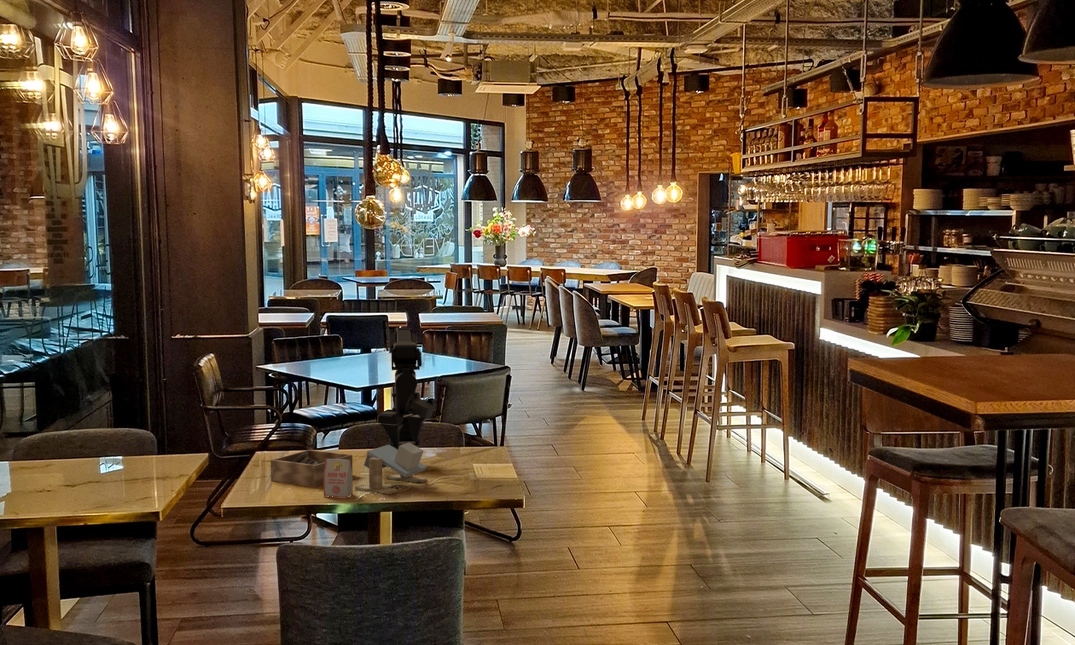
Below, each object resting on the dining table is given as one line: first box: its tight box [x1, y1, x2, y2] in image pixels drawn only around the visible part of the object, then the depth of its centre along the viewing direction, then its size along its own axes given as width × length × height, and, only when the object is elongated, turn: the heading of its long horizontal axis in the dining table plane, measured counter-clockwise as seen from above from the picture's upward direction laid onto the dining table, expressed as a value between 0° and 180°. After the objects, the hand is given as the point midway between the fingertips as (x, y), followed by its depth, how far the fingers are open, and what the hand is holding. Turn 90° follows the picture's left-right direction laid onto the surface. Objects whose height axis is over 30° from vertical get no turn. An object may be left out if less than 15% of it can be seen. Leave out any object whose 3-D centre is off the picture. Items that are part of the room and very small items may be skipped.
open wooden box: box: [270, 449, 354, 488], centre depth 272 cm, size 16×16×6 cm
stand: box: [354, 458, 428, 495], centre depth 262 cm, size 12×18×9 cm
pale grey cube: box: [394, 443, 424, 470], centre depth 260 cm, size 5×5×5 cm
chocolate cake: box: [292, 449, 318, 465], centre depth 273 cm, size 10×7×12 cm
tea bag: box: [323, 459, 354, 498], centre depth 251 cm, size 4×7×10 cm, turn 79°
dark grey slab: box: [363, 444, 428, 477], centre depth 262 cm, size 14×10×5 cm
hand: (405, 444), depth 260 cm, fingers open, 9 cm apart
